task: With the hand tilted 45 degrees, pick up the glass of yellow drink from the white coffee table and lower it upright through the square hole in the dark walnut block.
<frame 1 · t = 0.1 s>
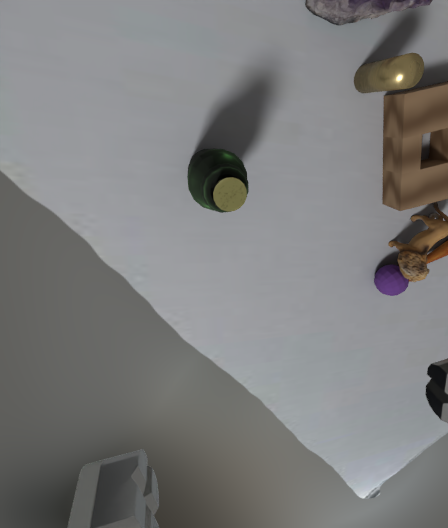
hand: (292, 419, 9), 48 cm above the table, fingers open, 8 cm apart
walnut hole block: (415, 145, 58), on the table
lion figurine: (407, 235, 65), on the table, touching purple and orange maraca
potion bottle: (208, 170, 53), on the table
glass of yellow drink: (366, 78, 52), on the table
purple and orange maraca: (412, 257, 68), on the table, touching lion figurine
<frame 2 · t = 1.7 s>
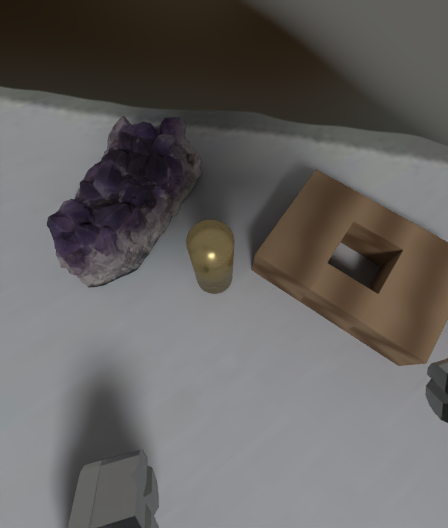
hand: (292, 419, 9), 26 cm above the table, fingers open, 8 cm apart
walnut hole block: (348, 272, 37), on the table
geode: (138, 217, 40), on the table
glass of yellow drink: (214, 276, 37), on the table
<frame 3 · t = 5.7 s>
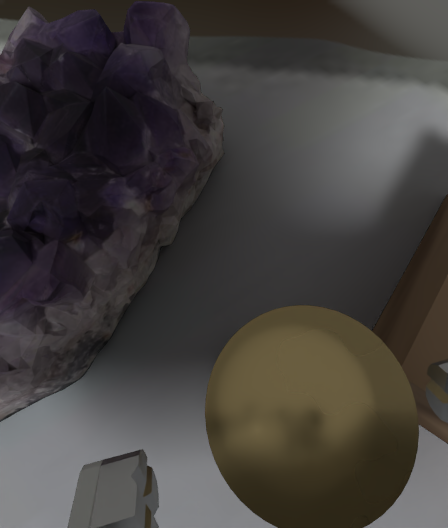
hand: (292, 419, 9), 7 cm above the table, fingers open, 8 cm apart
geode: (89, 249, 19), on the table
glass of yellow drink: (260, 392, 16), on the table
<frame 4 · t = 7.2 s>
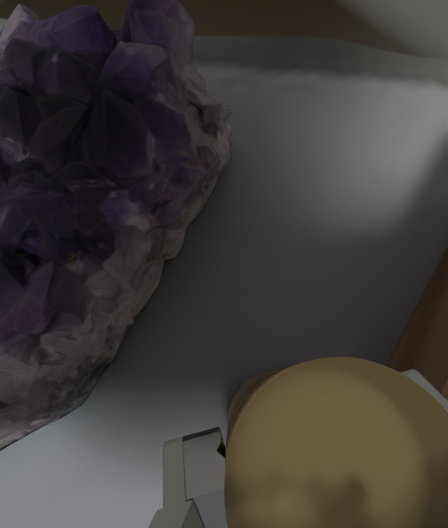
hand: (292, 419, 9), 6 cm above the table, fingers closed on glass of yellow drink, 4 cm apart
geode: (89, 263, 17), on the table
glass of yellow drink: (273, 420, 15), on the table, touching gripper
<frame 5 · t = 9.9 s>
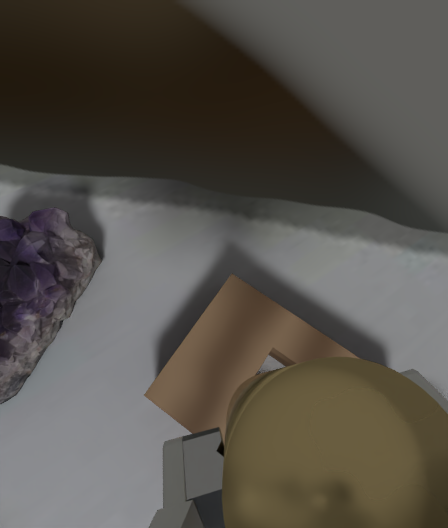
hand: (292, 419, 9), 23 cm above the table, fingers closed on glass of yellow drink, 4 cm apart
walnut hole block: (274, 395, 30), on the table
geode: (23, 320, 33), on the table
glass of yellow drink: (272, 420, 14), point 17 cm above the table, touching gripper
when the fingers open (7 cm above the table, at t = 12.7 s): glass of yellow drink drops 2 cm, resting in walnut hole block.
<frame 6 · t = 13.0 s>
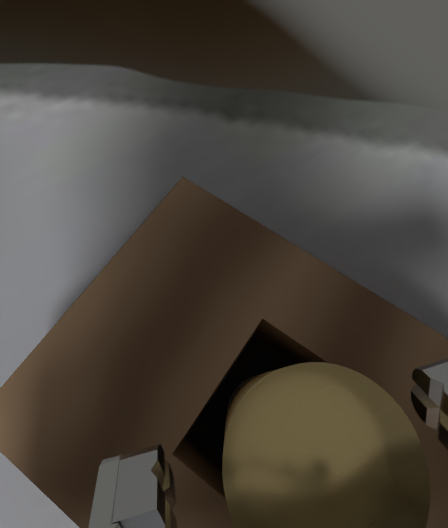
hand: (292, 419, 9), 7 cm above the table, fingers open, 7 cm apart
walnut hole block: (269, 417, 16), on the table
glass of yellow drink: (268, 417, 16), resting in walnut hole block
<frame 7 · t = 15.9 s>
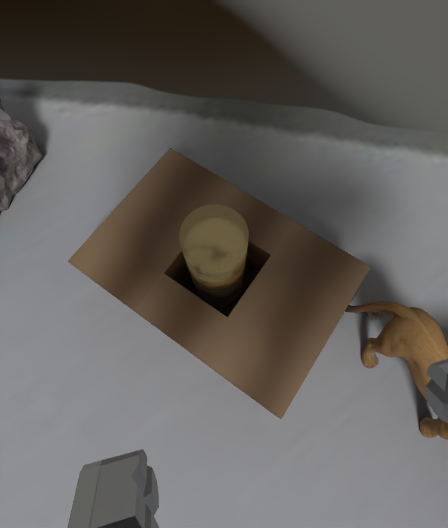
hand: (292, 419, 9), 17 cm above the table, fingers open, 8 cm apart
walnut hole block: (219, 283, 28), on the table
lion figurine: (412, 377, 26), on the table, touching walnut hole block
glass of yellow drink: (218, 283, 28), resting in walnut hole block
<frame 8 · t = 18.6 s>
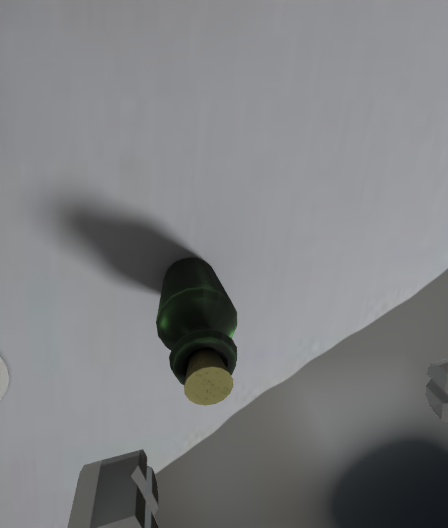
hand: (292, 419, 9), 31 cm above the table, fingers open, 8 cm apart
potion bottle: (190, 280, 42), on the table
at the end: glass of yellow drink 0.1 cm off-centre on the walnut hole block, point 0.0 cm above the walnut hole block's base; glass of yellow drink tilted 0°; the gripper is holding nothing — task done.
